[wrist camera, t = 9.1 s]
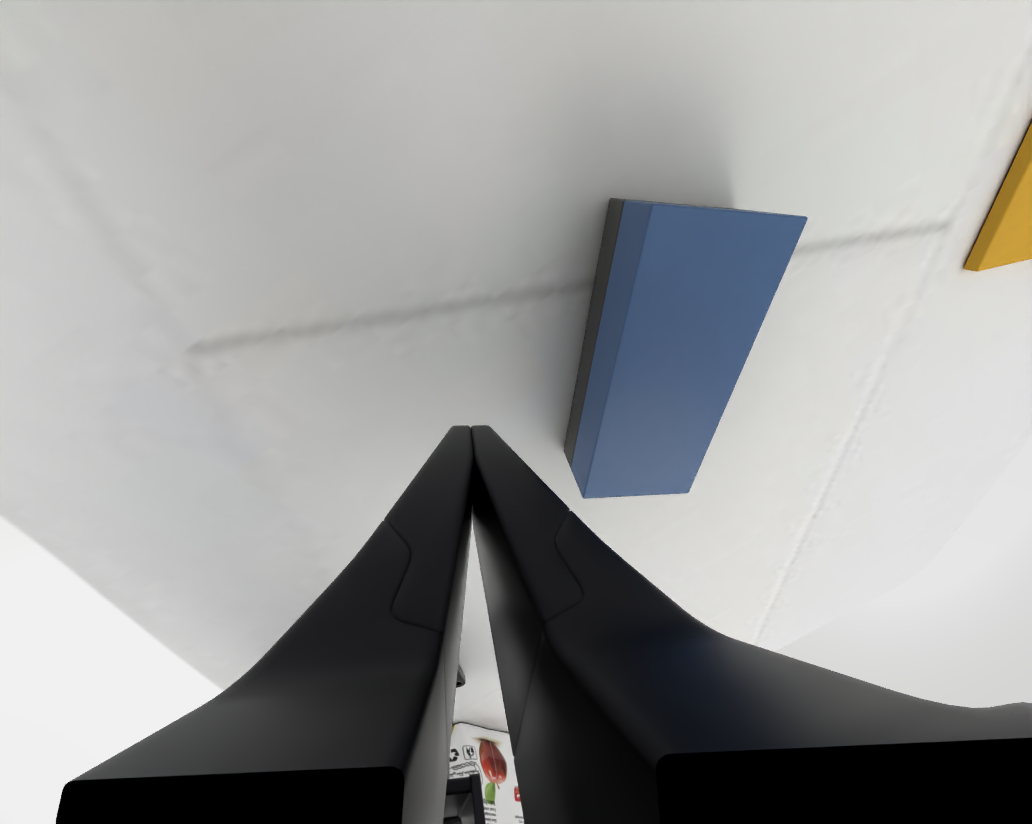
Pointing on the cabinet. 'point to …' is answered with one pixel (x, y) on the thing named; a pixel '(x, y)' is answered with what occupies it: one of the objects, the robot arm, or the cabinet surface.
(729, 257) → the whiteboard eraser
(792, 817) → the robot arm
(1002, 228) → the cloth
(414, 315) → the cabinet surface
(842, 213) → the cabinet surface
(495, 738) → the juice carton
